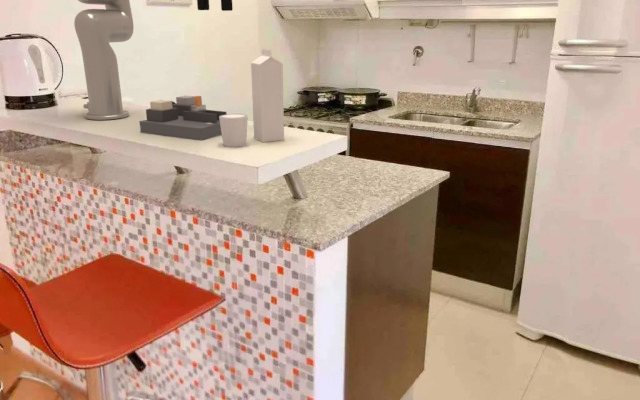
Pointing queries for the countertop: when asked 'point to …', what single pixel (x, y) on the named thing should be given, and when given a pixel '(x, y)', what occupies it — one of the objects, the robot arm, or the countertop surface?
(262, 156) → the countertop surface
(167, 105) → the cream button
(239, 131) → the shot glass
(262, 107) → the milk
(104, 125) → the countertop surface
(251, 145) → the countertop surface
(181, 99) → the grey button
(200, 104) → the toggle slider
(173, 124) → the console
